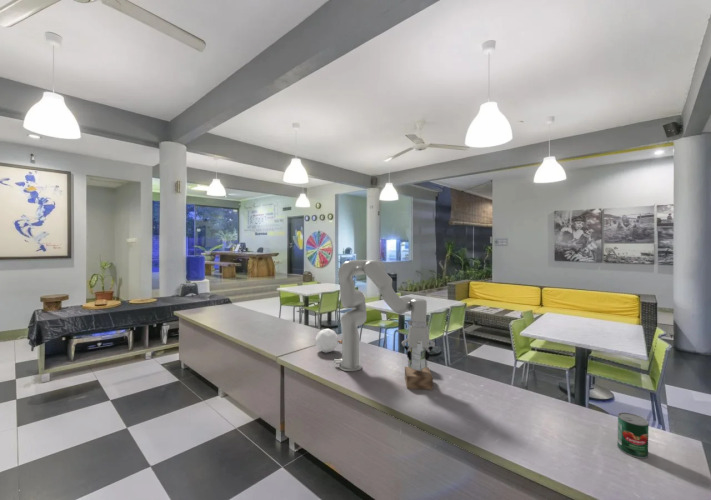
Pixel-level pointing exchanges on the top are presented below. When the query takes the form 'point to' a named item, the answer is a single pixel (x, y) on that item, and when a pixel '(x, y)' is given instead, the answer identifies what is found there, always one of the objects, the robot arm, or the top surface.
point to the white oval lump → (327, 340)
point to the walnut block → (418, 378)
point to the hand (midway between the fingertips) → (418, 359)
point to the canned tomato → (633, 435)
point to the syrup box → (418, 357)
